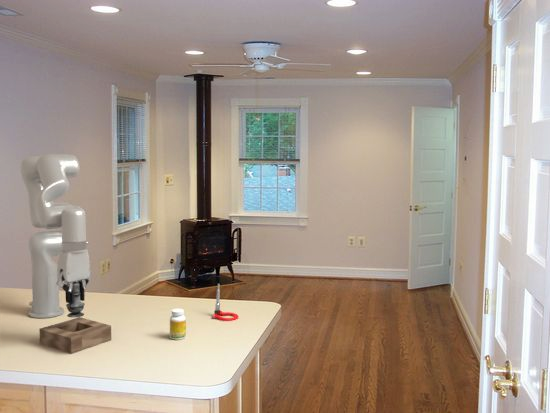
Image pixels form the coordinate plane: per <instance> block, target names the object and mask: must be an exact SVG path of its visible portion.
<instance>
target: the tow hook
mask: <svg viewBox="0 0 550 413" xmlns="http://www.w3.org/2000/svg"><path fill="white" fill-rule="evenodd" d="M220 288H221V286H220V283H217V288H216V300H215V301H216V302H215V308H214V313H213V315H211V318H212V319H213V320H214V319H217V320H218V321H219V320H220V321H222V320H223V321H222V322H232V321H233V320H234V321H237V320H238V319H239V317H240V316H239V314H237V313H234V312H229V311H228V312H227V311H226V312H223V311H222V310H221V308H220V307H221V304H220V299H221V289H220ZM224 316H229V317H224ZM230 316H231V317H230ZM236 319H237V320H236ZM234 321H233V322H234Z"/></svg>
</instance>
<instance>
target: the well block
mask: <svg viewBox="0 0 550 413" xmlns="http://www.w3.org/2000/svg"><path fill="white" fill-rule="evenodd" d="M110 341H112V325H110V324H106V323H103V322H99V321H95V320H92V319H89V318H88V319H87V318H83V317H82V316H81V317H74V318H73V319H72V318H71V319H69V320H66V321H62V322H58V323H54V324H50V325H48V326H44V327H41V328H39V344H40V345H43V346H46V347H49V348H52V349H56V350H58V351H61V352H65V353H68V354H71V355H73V354H75V353H78V352H81V351H84V350H87V349H90V348H92V347H96V346H98V345H102V344H105V343H107V342H110Z"/></svg>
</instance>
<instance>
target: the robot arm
mask: <svg viewBox="0 0 550 413" xmlns="http://www.w3.org/2000/svg"><path fill="white" fill-rule="evenodd" d="M80 168H81V166H80V162H79V159H78V158H77V157H76V156H75V155H74V154H71V153H70V154H69V153H68V154H67V153H64V154H63V153H59V154H58V153H51V154H43V155H34V156H33V155H31V156H26V157H24V158H23V159H22V160H21V162H20V174H21V178H22V180H23V181H22V182H23V184H24V186H25V188H26V191H27V195H28V196H27V197H28V205H29V206H28V207H29V217H30V222H31V225H32V226H33V227H34V228H35V229H36V228H37V229H45V230H48V231H39V232H35V233H33V234H31V235H30V236H29V238H28V242H27V243H28V251H29V256H30V262H31V263H30V264H31V283H32V284H31V285H32V286H31V290H32V301H30V302H29V303H28V305H29V306H31V309H30V310H29V311H28V316H29V317H31V318H35V319H47V318H55V317H58V316H61V315H63V314H64V313H65V309H64V308H63V307H61V306H60V288H62V290H63V292H65V302H66V304H68V303H70V304H73V303H74V292H73V291H72V285H73V282H75V281H76V282H78V283H79V284H80V292H81V294H80V300H81V302H84V301H85V296H86V295H85V293H86V292H85V289H87V285H88V284H89V282H90V281H91V280H92V279H93V274H92V272H91V262H90V261H91V260H90V255H89V250H88V248H87V246H88V245H89V241H88V240H87V225H86V224H87V222H86V221H87V220H86V219H87V218H86V216H87V215H86V211H85V210H84V209H83V208H82V207H81V206H79V205H72V204H71V203H69V202H65V201H64V202H63V201H60V202H59V201H57V202H54V201H55V200H57V199H59V198H61V197H63V196H65V195H66V194H67V192H68V191H69V189H70V183H69V179H72V178H76V177H78V175H79V174H80V170H81V169H80ZM57 229H58V230H57ZM59 229H60V230H59ZM57 256H58V258H57V263H56V262H55V261H54V259H52V258H53V257H57Z"/></svg>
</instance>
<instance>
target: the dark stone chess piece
mask: <svg viewBox="0 0 550 413" xmlns="http://www.w3.org/2000/svg"><path fill="white" fill-rule="evenodd" d="M72 291H73V292H74V303H73V304H70V303H66V304H65V306H66V309H67V311H68V312H69V313H68V314H67V315H66V316H67V317H68V318H71V319H72V318H73V319H75V318H79V317H81V318H82V317H83V316H84V315H85V313H84V312H82V311H83V310H84V308H85V305H86V304H85V302H83V301H81V300H80V294H81V292H80V284H79V283H78V282H77V281H75V282H73V285H72Z"/></svg>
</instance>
